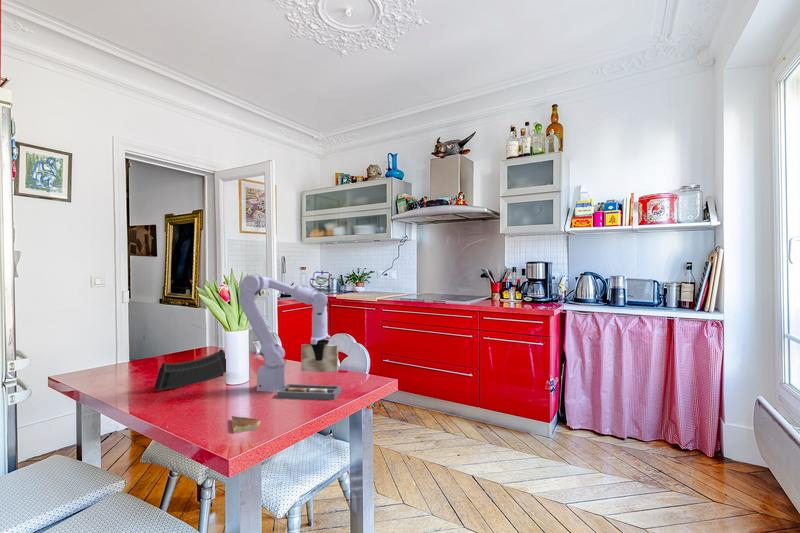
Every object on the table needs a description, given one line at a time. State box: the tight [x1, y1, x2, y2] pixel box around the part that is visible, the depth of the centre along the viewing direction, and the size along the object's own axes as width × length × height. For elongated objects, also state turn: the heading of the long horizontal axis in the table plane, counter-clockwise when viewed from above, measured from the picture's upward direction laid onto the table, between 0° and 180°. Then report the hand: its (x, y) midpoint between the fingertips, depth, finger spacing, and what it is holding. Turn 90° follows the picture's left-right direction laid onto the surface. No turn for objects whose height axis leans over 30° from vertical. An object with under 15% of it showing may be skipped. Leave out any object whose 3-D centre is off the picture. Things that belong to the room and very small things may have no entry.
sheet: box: [300, 343, 339, 373], centre depth 146 cm, size 14×2×10 cm, turn 84°
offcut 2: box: [309, 388, 327, 393], centre depth 133 cm, size 6×2×2 cm, turn 84°
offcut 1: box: [288, 388, 307, 392], centre depth 134 cm, size 6×2×2 cm, turn 84°
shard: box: [231, 415, 261, 434], centre depth 111 cm, size 11×8×2 cm
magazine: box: [153, 349, 226, 391], centre depth 152 cm, size 17×3×30 cm
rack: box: [277, 383, 342, 401], centre depth 136 cm, size 20×10×3 cm, turn 84°
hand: (319, 359), depth 146 cm, fingers closed on sheet, 1 cm apart
